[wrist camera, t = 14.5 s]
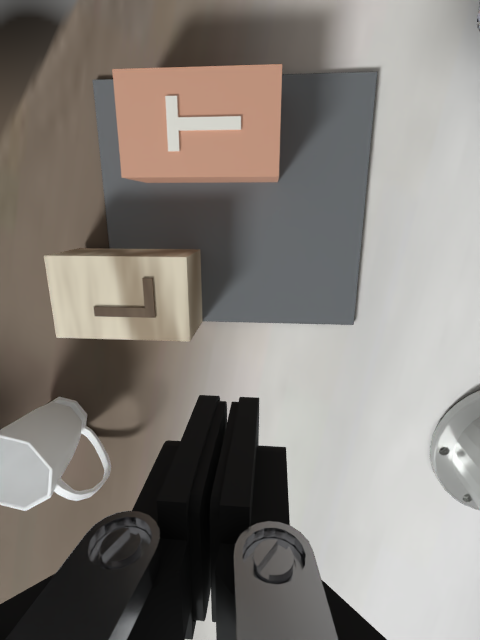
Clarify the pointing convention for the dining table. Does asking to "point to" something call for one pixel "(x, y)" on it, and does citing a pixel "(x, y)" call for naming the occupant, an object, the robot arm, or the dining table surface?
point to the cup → (44, 454)
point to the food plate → (478, 18)
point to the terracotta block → (199, 123)
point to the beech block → (126, 293)
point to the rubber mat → (263, 209)
